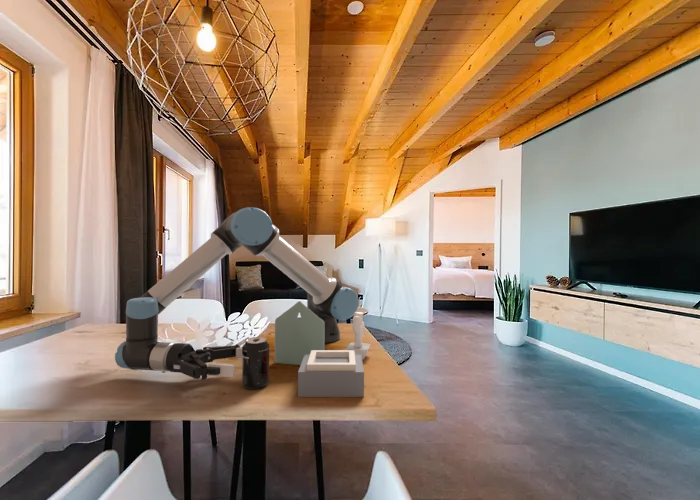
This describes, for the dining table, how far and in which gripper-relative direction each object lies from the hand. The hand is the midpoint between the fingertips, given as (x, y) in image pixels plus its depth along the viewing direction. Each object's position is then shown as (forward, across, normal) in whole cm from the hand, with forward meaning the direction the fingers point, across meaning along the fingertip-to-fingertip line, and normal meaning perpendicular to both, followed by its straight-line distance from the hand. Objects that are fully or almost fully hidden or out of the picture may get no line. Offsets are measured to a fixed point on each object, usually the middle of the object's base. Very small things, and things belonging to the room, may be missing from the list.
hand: (247, 361), depth 88 cm
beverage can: (+2, -1, -6) cm, 7 cm away
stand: (+22, -4, -6) cm, 23 cm away
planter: (+8, -22, -7) cm, 25 cm away
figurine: (+25, -29, -6) cm, 39 cm away
